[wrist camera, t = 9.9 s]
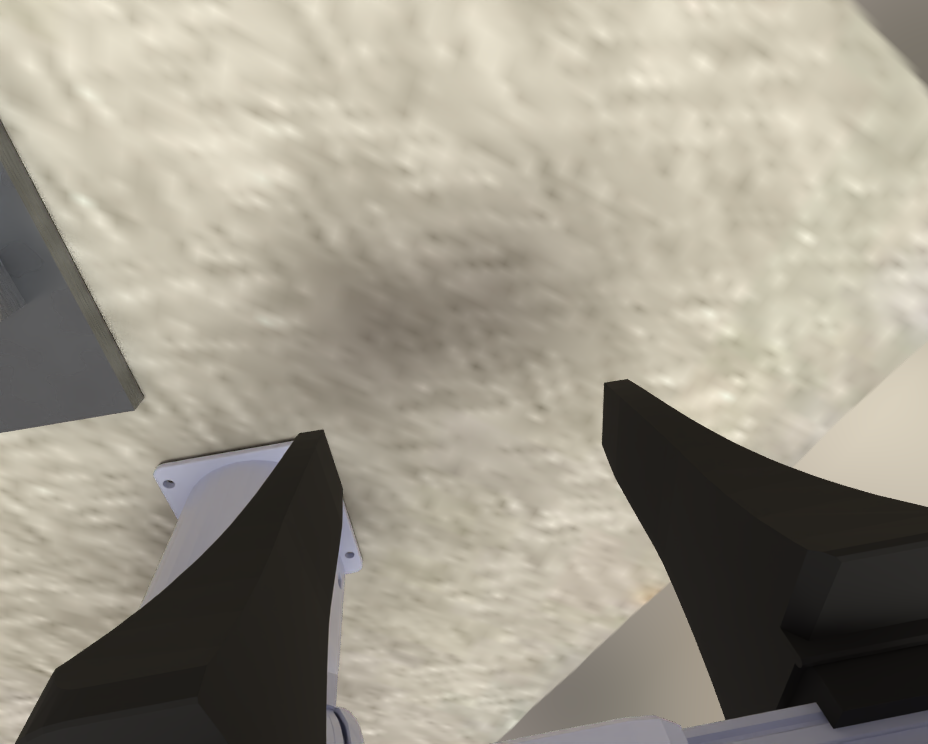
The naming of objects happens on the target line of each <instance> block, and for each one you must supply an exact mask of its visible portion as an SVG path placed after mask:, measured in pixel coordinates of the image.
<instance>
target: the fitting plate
mask: <svg viewBox="0 0 928 744" xmlns="http://www.w3.org/2000/svg"><path fill="white" fill-rule="evenodd" d="M143 398H144V397H143V395H142V393H141V391H140V389H139V387H138V385H137V383H136V381H135V379H134V377H133V375H132V374H131V372H130V370H129V368H128V366H127V364H126V362H125V360H124V358H123V356H122V354H121V352H120V350H119V348H118V347H117V345H116V343H115V341H114V339H113V337H112V335H111V333H110V331H109V329H108V327H107V325H106V323H105V322H104V320H103V318H102V316H101V314H100V312H99V310H98V308H97V306H96V304H95V302H94V300H93V298H92V296H91V295H90V293H89V291H88V289H87V287H86V285H85V283H84V281H83V279H82V277H81V275H80V273H79V271H78V270H77V268H76V266H75V264H74V262H73V260H72V258H71V256H70V254H69V252H68V250H67V248H66V246H65V245H64V243H63V241H62V239H61V237H60V235H59V233H58V231H57V229H56V227H55V225H54V223H53V221H52V219H51V218H50V216H49V214H48V212H47V210H46V208H45V206H44V204H43V202H42V200H41V198H40V196H39V194H38V193H37V191H36V189H35V187H34V185H33V183H32V181H31V179H30V177H29V175H28V173H27V171H26V169H25V167H24V166H23V164H22V162H21V160H20V158H19V156H18V154H17V152H16V150H15V148H14V146H13V144H12V142H11V141H10V139H9V137H8V135H7V133H6V131H5V129H4V127H3V125H2V123H1V121H0V433H2V432H8V431H14V430H20V429H26V428H32V427H38V426H44V425H50V424H56V423H62V422H68V421H74V420H80V419H86V418H92V417H98V416H104V415H110V414H116V413H122V412H128V411H134V410H135V409H136V408H137V407H138V405H139V404H140V402H141V401H142V399H143Z"/></svg>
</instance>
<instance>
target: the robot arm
mask: <svg viewBox="0 0 928 744" xmlns="http://www.w3.org/2000/svg"><path fill="white" fill-rule="evenodd" d="M602 446H603V448H604V451H605V454H606V456H607V459H608V461H609V464H610V466H611V469H612V471H613V474H614V476H615V478H616V480H617V482H618V484H619V485H620V487H621V489H622V491H623V493H624V494H625V496H626V498H627V500H628V502H629V503H630V505H631V507H632V509H633V510H634V512H635V514H636V516H637V517H638V519H639V521H640V523H641V524H642V526H643V528H644V530H645V531H646V533H647V535H648V537H649V538H650V540H651V542H652V544H653V545H654V547H655V549H656V551H657V553H658V555H659V557H660V559H661V561H662V562H663V564H664V567H665V569H666V571H667V573H668V576H669V578H670V580H671V583H672V585H673V587H674V589H675V592H676V594H677V596H678V599H679V601H680V603H681V606H682V608H683V610H684V613H685V615H686V618H687V620H688V623H689V625H690V627H691V630H692V632H693V635H694V637H695V640H696V642H697V645H698V647H699V650H700V653H701V655H702V658H703V660H704V663H705V665H706V668H707V670H708V673H709V676H710V678H711V681H712V684H713V686H714V689H715V692H716V695H717V697H718V700H719V703H720V706H721V708H722V711H723V714H724V717H725V720H724V721H719V722H714V723H709V724H704V725H699V726H694V727H688V728H683V729H682V728H681V725H679V724H677V723H675V722H673V721H670V720H667V719H664V718H661V717H658V716H655V715H650V716H635V717H624V718H619V719H614V720H609V721H604V722H598V723H594V724H588V725H584V726H578V727H573V728H568V729H563V730H558V731H553V732H547V733H542V734H537V735H532V736H527V737H522V738H516V739H511V740H506V741H501V742H496V743H491V744H928V507H925V506H921V505H917V504H913V503H908V502H904V501H900V500H896V499H892V498H887V497H883V496H878V495H875V494H871V493H868V492H864V491H860V490H857V489H854V488H851V487H847V486H844V485H840V484H837V483H834V482H831V481H828V480H825V479H822V478H819V477H816V476H813V475H810V474H808V473H805V472H802V471H799V470H797V469H794V468H791V467H789V466H786V465H783V464H781V463H778V462H776V461H774V460H771V459H769V458H766V457H764V456H762V455H760V454H758V453H755V452H753V451H751V450H749V449H746V448H744V447H742V446H740V445H738V444H736V443H734V442H732V441H730V440H728V439H726V438H724V437H722V436H720V435H719V434H717V433H715V432H713V431H711V430H709V429H707V428H706V427H704V426H702V425H700V424H699V423H697V422H695V421H694V420H692V419H690V418H688V417H687V416H685V415H684V414H682V413H680V412H679V411H677V410H675V409H674V408H672V407H671V406H669V405H667V404H666V403H664V402H663V401H661V400H660V399H658V398H657V397H655V396H654V395H652V394H650V393H649V392H647V391H646V390H644V389H643V388H641V387H640V386H638V385H636V384H635V383H633V382H632V381H630V380H628V379H625V380H619V381H613V382H607V383H604V402H603V429H602ZM153 475H154V478H155V480H156V482H157V484H158V485H159V487H160V489H161V491H162V493H163V494H164V496H165V498H166V500H167V502H168V503H169V505H170V507H171V509H172V510H173V512H174V514H175V516H176V518H177V519H178V521H177V524H176V526H175V528H174V530H173V533H172V535H171V537H170V540H169V542H168V544H167V546H166V549H165V551H164V553H163V556H162V558H161V560H160V562H159V565H158V567H157V569H156V572H155V574H154V576H153V578H152V581H151V583H150V585H149V587H148V590H147V592H146V594H145V597H144V599H143V601H142V603H141V606H140V608H139V610H138V611H137V612H136V613H134V614H133V615H132V616H130V617H129V618H128V619H126V620H125V621H124V622H123V623H121V624H120V625H119V626H117V627H116V628H114V629H113V630H112V631H110V632H109V633H108V634H106V635H105V636H103V637H102V638H100V639H99V640H98V641H96V642H95V643H93V644H92V645H90V646H89V647H87V648H86V649H85V650H83V651H82V652H80V653H79V654H77V655H76V656H74V657H73V658H72V659H70V660H69V661H67V662H66V663H64V664H63V665H61V666H59V667H58V668H56V669H55V671H54V673H53V674H52V676H51V678H50V679H49V681H48V683H47V685H46V687H45V689H44V690H43V692H42V694H41V696H40V698H39V700H38V702H37V703H36V705H35V707H34V709H33V711H32V713H31V715H30V716H29V718H28V720H27V722H26V724H25V726H24V728H23V730H22V731H21V733H20V735H19V737H18V739H17V741H16V743H15V744H364V739H363V736H362V732H361V728H360V726H359V723H358V721H357V719H356V717H355V716H354V715H353V714H352V713H351V712H350V711H348V710H347V709H345V708H342V707H336V696H337V681H338V676H337V675H338V670H339V659H340V644H341V629H342V614H343V599H344V584H345V574H349V573H354V572H358V571H360V570H361V569H362V567H363V560H362V557H361V554H360V550H359V547H358V544H357V541H356V538H355V535H354V532H353V528H352V525H351V522H350V519H349V516H348V513H347V510H346V507H345V503H344V500H343V488H342V485H341V482H340V479H339V476H338V473H337V470H336V467H335V464H334V461H333V457H332V454H331V451H330V448H329V445H328V442H327V439H326V436H325V433H324V430H317V431H311V432H305V433H299V434H298V436H297V437H296V438H295V440H294V441H290V442H284V443H278V444H272V445H267V446H261V447H255V448H249V449H244V450H238V451H232V452H226V453H221V454H215V455H209V456H203V457H198V458H192V459H186V460H180V461H175V462H169V463H163V464H160V465H158V466H157V467H156V469H155V471H154V474H153ZM167 480H171V481H173V482H174V483H170V482H168V481H167ZM348 552H352V553H348Z"/></svg>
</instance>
